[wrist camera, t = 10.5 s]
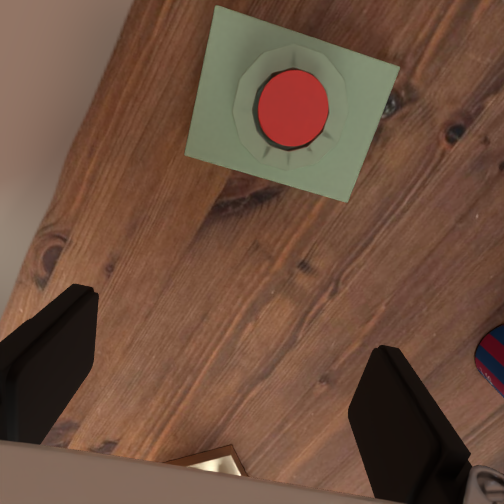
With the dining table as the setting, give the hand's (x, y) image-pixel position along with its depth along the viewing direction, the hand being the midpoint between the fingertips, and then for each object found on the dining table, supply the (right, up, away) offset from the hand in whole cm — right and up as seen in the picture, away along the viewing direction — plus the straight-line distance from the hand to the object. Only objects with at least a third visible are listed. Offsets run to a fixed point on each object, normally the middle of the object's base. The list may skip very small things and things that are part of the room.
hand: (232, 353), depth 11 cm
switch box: (+3, +13, +13) cm, 19 cm away
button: (+3, +12, +9) cm, 15 cm away
